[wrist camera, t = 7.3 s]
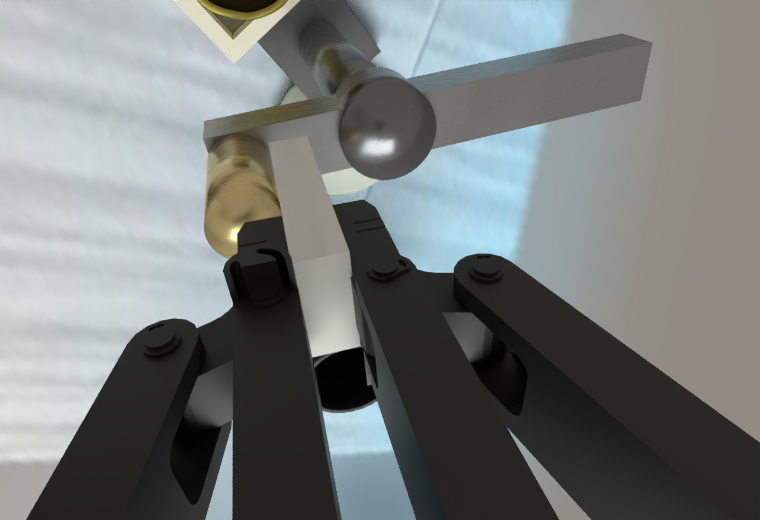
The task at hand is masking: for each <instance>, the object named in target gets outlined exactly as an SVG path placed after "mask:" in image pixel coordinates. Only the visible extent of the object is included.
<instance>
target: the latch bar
mask: <svg viewBox="0 0 760 520" xmlns="http://www.w3.org/2000/svg"><path fill="white" fill-rule="evenodd" d="M651 47H652V42H649V41H645V40H642V39H638V38H635V37H632V36H628V35H625V34H618V35H613V36H608V37H603V38H599V39H593V40H589V41H584V42H579V43H574V44H570V45H565V46H560V47H555V48H551V49H546V50H541V51H536V52H532V53H527V54H522V55H517V56H512V57H508V58H503V59H498V60H493V61H489V62H484V63H479V64H474V65H470V66H465V67H460V68H455V69H451V70H446V71H441V72H436V73H431V74H427V75H422V76H417V77H412V78H408V79H405V78H404V77H403V76H402V75H400V74H399V73H397V72H395V71H393V70H391V69H387V68H382V67H373V68H367V69H363V70H361V71H358V72H356V73H354V74H353V75H351V76H350V77H349V78H347V79H346V80H345V81H344V82H343V83H342V84H341V86H340V87H339V88H338V90H337V91H336V93H335V94H331V95H327V96H322V97H317V98H312V99H308V100H303V101H298V102H293V103H289V104H284V105H279V106H274V107H270V108H265V109H260V110H255V111H250V112H246V113H241V114H236V115H231V116H227V117H222V118H217V119H212V120H208V121H204V135H203V140H204V143H205V145H206V148H207V151H208V159H207V179H206V201H205V223H204V231H205V236H206V239H207V241H208V243H209V244H210V246H211V247H212V248H213V249H214V250H215V251H216V252H218V253H219V254H220V255H222V256H224V257H226V258H229V259H230V258H231V257H232V256H233V255H234V254H236V253H237V248H238V247H237V233H238V232H239V230H240V229H241V227H242V226H243V224H244V223H245V222H249V221H255V220H261V219H266V218H272V217H277V216H282V213H281V207H280V202H279V197H278V191H277V186H276V180H275V175H274V169H273V164H272V159H271V153H270V148H269V142H275V141H282V140H288V139H294V138H301V137H307V138H308V141H309V143H310V146H311V149H312V152H313V154H314V157H315V160H316V162H317V165H318V168H319V171H320V173H321V175H323V174H327V173H331V172H336V171H340V170H344V169H349V168H354V169H355V170H356V171H357V172H359V173H360V174H362V175H364V176H366V177H369V178H372V179H377V180H390V179H395V178H398V177H401V176H404V175H406V174H408V173H409V172H411V171H413V170H414V169H415V168H417V167H418V166H419V165H420V164H421V163H422V162H423V161H424V159H425V158H426V157H427V155H428V154H429V152H430V150H431V149H434V148H439V147H443V146H447V145H452V144H456V143H460V142H464V141H469V140H473V139H477V138H482V137H486V136H490V135H494V134H499V133H503V132H507V131H512V130H516V129H520V128H524V127H529V126H533V125H537V124H542V123H546V122H550V121H554V120H559V119H563V118H567V117H572V116H575V115H580V114H584V113H589V112H593V111H597V110H601V109H606V108H610V107H615V106H619V105H623V104H627V103H632V102H636V101H640V100H641V95H642V91H643V86H644V80H645V76H646V71H647V66H648V61H649V57H650V52H651Z"/></svg>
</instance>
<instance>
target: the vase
mask: <svg viewBox="0 0 760 520" xmlns="http://www.w3.org/2000/svg"><path fill="white" fill-rule="evenodd" d="M197 1H198V2H199V3H200V4H202V5H203V6H204V7H206V8H207V9H208V10H210V11H211V12H213V13H215V14H218V15H221V16H225V17H229V18H234V19H239V20H255V19H259V18H263V17H266V16H268V15H270V14H272V13H274V12H276V11H278V10H279V9H280V8H282V7H283V6H284V5H285V4H286V2H287V1H288V0H197Z"/></svg>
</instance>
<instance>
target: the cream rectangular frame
mask: <svg viewBox="0 0 760 520" xmlns="http://www.w3.org/2000/svg"><path fill="white" fill-rule="evenodd" d="M173 1H174V2H175V3H176V4H177V5H178V6H179V7H180V8H181V9H182V10H183V11H184V12H185V13H186V14H187V15H188V16H189V17H190V19H191V20H192V21H193V22H194V23H195V24H196V25H197V26H198V27H199V28H200V29H201V30H202V31H203V32H204V33H205V34H206V35H207V36H208V37H209V38H210V40H211V41H212V42H213V43H214V44H215V45H216V46H217V47H218V48H219V49H220V50H221V51H222V52H223V53H224V54H225V55H226V56H227V57H228V58H229V59H230V61H231V62H232V63H233V64H234V63H235V62H236V61H237V60H238V59H239V58H241V57H242V56H243V55H244V54H245V53H246V52H247V51H248V50H249V49H250V48H251V47H252V46H253V45H254V44H255V43H256V42H257V41H258V40H259V39H260V38H261V37H262V36H264V35H265V34H266V33H267V32H268V31H269V30H270V29H271V28H272V27H273V26H274V25H275V24H276V23H277V22H278V21H279V20H280V19H281V18H282V17H283V16H284V15H285V14H287V13H288V12H289V11H290V10H291V9H292V8H293V7H294V6H295V5H296V4H297V3H298V2H299V1H300V0H288V1H287V2H286V4H285V5H284V6H283V7H282V8H280V9H279V10H278V11H276V12H274V13H272V14H270V15H268V16H266V17H263V18H259V19H255V20H246V21H245V22H244V23H243V24H242V25H241V26H240V27H239V28H238V29H237V30H236V31H235V32H234V33H233V34H232V33H231V32H230V31H229V30H228V29H227V28H226V27H225V25H224V24H223V23H222V22H221V21H220V20H219V19H218V18H217V17H216V16H215V14H214V13H213V12H211V11H210V10H208V9H207V8H206V7H204V6H203V5H202V4H200V3H199V2H198V1H197V0H173Z"/></svg>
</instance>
